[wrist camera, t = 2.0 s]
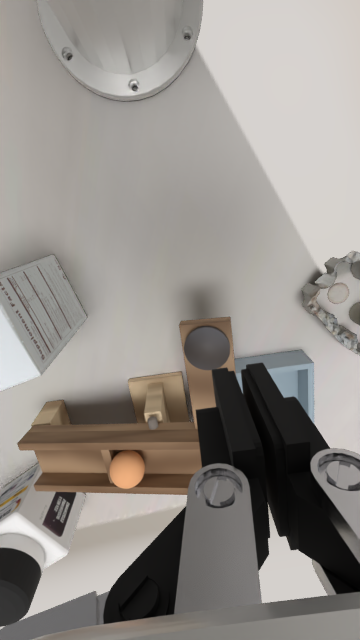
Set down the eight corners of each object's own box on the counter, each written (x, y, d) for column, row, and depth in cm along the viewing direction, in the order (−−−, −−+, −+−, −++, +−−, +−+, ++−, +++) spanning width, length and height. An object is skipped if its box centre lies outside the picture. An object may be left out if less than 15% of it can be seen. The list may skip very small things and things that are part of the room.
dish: (210, 361, 35) (213, 376, 32) (300, 348, 35) (313, 362, 32) (219, 434, 39) (223, 455, 35) (302, 423, 38) (314, 443, 35)
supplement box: (28, 342, 34) (-51, 413, 22) (-10, 279, 31) (-122, 320, 19) (90, 318, 33) (43, 378, 21) (56, 252, 31) (-19, 277, 19)
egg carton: (288, 295, 33) (303, 306, 29) (344, 240, 31) (368, 244, 27) (351, 355, 35) (373, 373, 31) (407, 308, 33) (437, 320, 30)
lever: (1, 336, 29) (-20, 348, 26) (230, 316, 25) (230, 329, 22) (51, 476, 34) (38, 497, 32) (246, 479, 30) (247, 502, 28)
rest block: (46, 402, 36) (31, 425, 32) (63, 399, 36) (50, 422, 32) (60, 443, 38) (47, 470, 34) (76, 441, 38) (65, 467, 34)
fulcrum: (128, 379, 35) (120, 412, 29) (181, 371, 35) (182, 403, 29) (143, 442, 38) (138, 484, 32) (191, 436, 38) (195, 477, 32)
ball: (111, 443, 30) (101, 469, 27) (144, 441, 29) (137, 468, 26) (118, 469, 31) (109, 497, 28) (150, 468, 30) (144, 496, 27)
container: (44, 457, 39) (-16, 571, 26) (87, 494, 41) (50, 616, 28) (1, 487, 40) (-74, 609, 28) (45, 521, 42) (-8, 648, 30)
